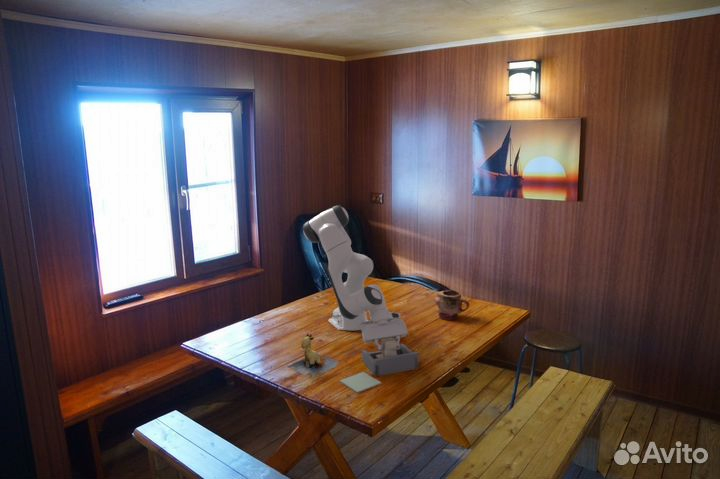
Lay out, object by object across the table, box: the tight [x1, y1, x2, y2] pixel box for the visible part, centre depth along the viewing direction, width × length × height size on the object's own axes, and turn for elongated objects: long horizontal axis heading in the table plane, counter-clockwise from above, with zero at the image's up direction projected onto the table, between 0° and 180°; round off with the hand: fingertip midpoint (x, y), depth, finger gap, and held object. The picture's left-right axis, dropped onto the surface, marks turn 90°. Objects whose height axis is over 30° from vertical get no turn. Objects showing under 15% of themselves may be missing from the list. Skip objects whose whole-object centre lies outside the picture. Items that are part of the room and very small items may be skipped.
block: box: [381, 337, 397, 358], centre depth 228 cm, size 4×5×8 cm
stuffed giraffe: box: [287, 332, 340, 379], centre depth 228 cm, size 16×18×16 cm
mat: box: [339, 371, 382, 394], centre depth 213 cm, size 12×12×1 cm
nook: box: [361, 343, 419, 378], centre depth 228 cm, size 16×20×7 cm
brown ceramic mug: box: [433, 289, 470, 321], centre depth 281 cm, size 20×12×14 cm, turn 60°
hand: (389, 348), depth 228 cm, fingers open, 6 cm apart
